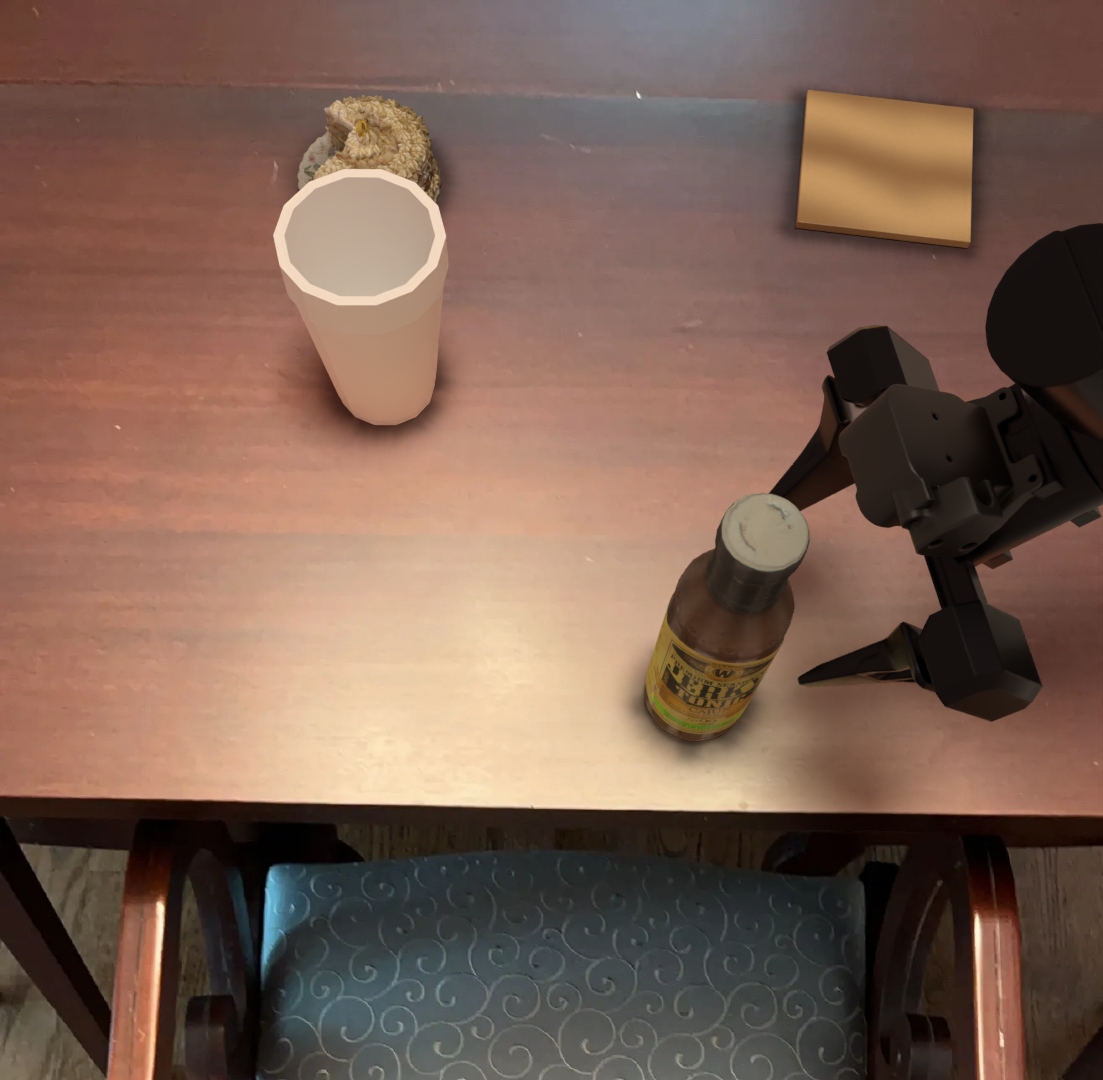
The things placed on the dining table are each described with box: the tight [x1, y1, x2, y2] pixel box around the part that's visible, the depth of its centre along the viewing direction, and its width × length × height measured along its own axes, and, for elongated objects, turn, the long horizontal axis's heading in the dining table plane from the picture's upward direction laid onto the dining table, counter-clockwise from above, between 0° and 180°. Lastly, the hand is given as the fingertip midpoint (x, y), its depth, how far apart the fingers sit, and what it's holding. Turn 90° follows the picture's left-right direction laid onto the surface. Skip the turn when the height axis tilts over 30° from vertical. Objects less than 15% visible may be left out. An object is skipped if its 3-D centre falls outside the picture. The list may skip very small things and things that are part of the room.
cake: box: [296, 94, 442, 204], centre depth 79 cm, size 10×10×5 cm
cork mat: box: [795, 89, 974, 249], centre depth 83 cm, size 12×12×1 cm
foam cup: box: [272, 169, 450, 426], centre depth 71 cm, size 10×9×13 cm
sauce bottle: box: [643, 492, 811, 742], centre depth 61 cm, size 6×6×20 cm
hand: (778, 600), depth 59 cm, fingers open, 9 cm apart
